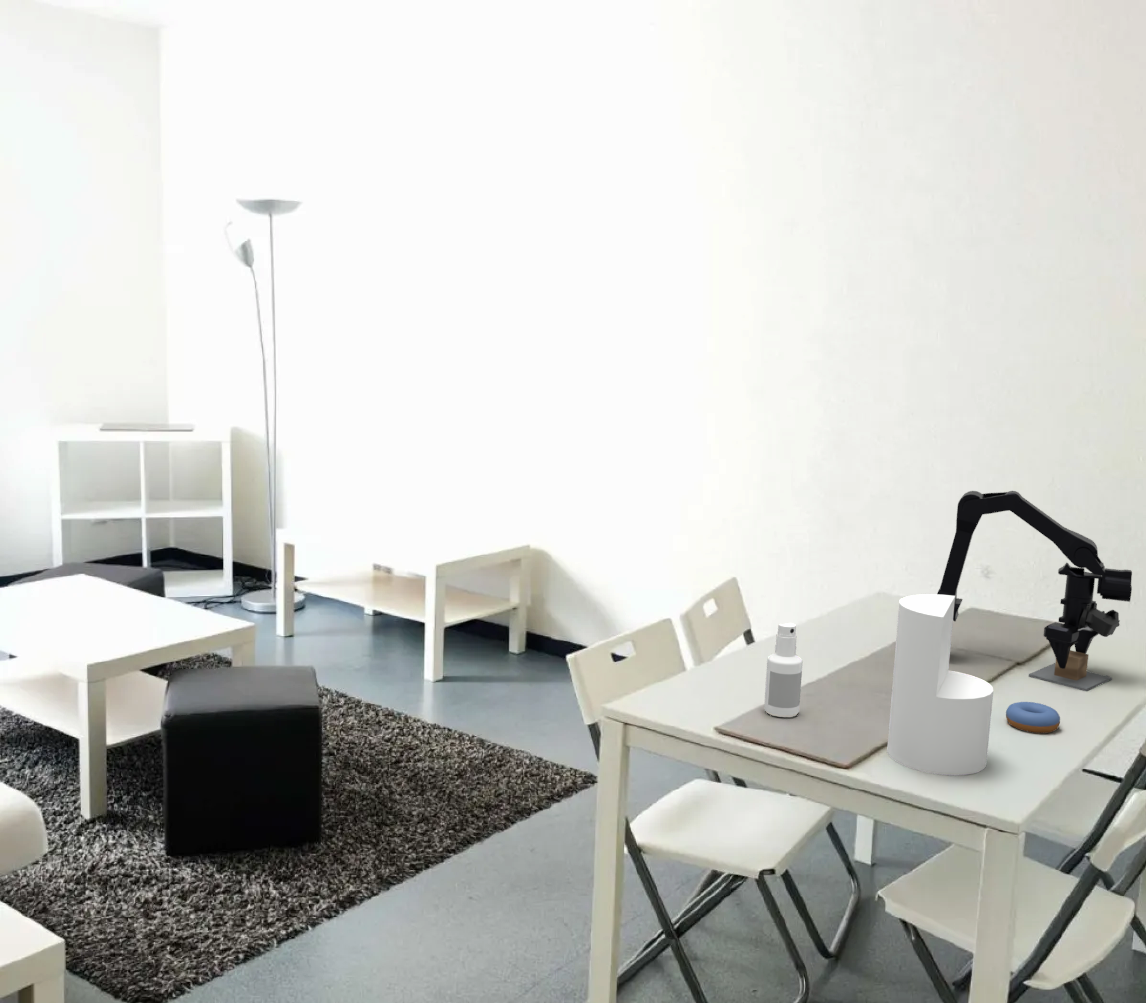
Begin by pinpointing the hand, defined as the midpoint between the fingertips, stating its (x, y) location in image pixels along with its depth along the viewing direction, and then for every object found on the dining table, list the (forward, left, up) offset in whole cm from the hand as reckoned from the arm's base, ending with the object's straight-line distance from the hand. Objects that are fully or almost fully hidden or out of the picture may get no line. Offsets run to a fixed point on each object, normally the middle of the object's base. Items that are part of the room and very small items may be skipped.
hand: (1071, 664), depth 267 cm
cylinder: (-67, -5, -3) cm, 67 cm away
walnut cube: (0, 0, -3) cm, 3 cm away
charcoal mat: (0, 0, -3) cm, 3 cm away
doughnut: (-37, -9, -4) cm, 38 cm away
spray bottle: (-70, +27, -3) cm, 75 cm away
